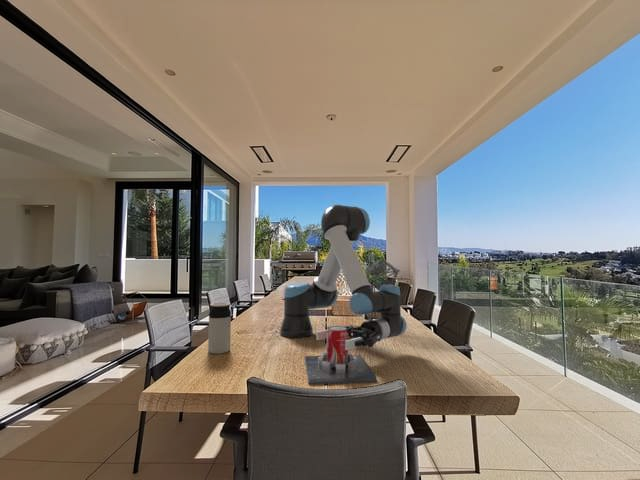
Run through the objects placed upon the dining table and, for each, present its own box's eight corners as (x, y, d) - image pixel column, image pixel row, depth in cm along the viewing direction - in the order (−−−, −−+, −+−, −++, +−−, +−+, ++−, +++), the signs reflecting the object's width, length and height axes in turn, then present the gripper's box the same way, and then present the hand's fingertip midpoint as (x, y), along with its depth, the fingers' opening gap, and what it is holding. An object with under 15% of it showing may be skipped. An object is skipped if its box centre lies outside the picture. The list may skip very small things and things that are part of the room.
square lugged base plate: (308, 384, 91) (308, 370, 91) (304, 360, 111) (305, 349, 111) (376, 382, 93) (376, 368, 93) (360, 359, 113) (360, 347, 113)
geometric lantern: (402, 333, 149) (400, 259, 150) (368, 334, 149) (367, 260, 150) (394, 325, 165) (393, 258, 166) (364, 326, 165) (363, 258, 166)
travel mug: (227, 354, 117) (228, 305, 118) (205, 354, 117) (206, 305, 117) (232, 347, 125) (233, 301, 126) (211, 348, 125) (212, 301, 125)
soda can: (325, 361, 105) (325, 325, 106) (346, 361, 106) (346, 325, 107) (327, 369, 98) (328, 330, 99) (350, 369, 99) (350, 330, 100)
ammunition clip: (382, 318, 183) (382, 297, 183) (383, 319, 181) (383, 298, 182) (364, 318, 183) (364, 297, 183) (364, 319, 181) (364, 298, 181)
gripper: (403, 349, 105) (360, 363, 91) (349, 333, 124) (306, 343, 110) (403, 326, 105) (360, 336, 91) (349, 314, 124) (306, 321, 110)
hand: (330, 340), depth 101 cm, fingers open, 13 cm apart
